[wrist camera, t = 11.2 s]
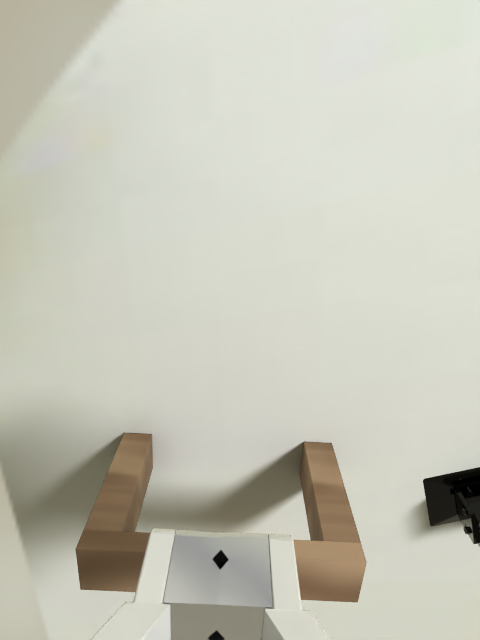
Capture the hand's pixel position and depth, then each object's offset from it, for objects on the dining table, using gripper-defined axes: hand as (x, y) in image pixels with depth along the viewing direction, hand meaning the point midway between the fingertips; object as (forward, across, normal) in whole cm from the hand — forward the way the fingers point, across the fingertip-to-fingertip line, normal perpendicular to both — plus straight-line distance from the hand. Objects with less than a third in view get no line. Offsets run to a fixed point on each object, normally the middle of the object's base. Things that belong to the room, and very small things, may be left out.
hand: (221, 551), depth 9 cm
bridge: (+19, 0, -13) cm, 23 cm away
